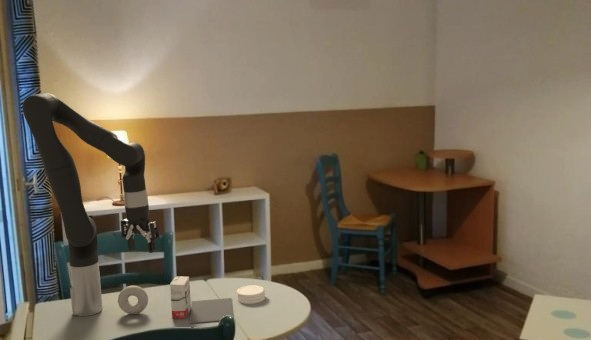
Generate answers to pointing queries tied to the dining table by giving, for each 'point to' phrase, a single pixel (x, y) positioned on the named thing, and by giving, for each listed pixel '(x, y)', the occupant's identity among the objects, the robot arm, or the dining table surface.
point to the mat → (210, 310)
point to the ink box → (180, 297)
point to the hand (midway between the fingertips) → (142, 250)
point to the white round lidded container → (250, 294)
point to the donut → (132, 291)
